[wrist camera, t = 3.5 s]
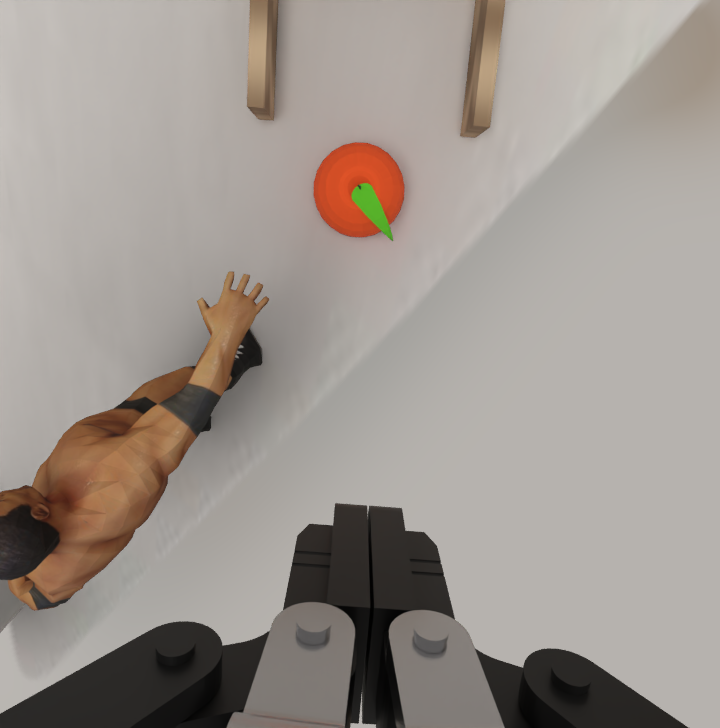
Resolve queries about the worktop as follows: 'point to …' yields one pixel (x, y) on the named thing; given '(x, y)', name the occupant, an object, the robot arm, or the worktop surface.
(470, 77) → the bay
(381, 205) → the clementine
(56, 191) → the worktop surface
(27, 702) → the robot arm
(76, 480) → the figurine
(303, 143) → the worktop surface
